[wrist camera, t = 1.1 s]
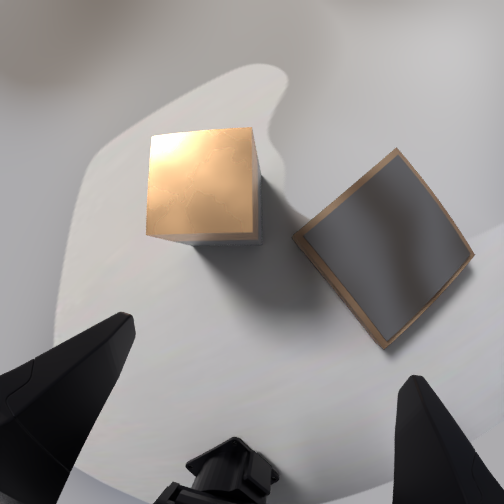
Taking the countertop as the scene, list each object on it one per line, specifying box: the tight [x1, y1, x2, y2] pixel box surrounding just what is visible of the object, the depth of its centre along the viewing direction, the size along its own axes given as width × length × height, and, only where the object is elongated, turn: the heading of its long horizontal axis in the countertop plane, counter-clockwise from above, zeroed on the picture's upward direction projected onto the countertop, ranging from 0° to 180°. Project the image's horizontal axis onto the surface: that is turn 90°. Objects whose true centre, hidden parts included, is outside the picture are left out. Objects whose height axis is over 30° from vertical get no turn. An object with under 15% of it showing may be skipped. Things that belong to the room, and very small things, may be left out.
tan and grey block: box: [146, 127, 262, 246], centre depth 20 cm, size 6×6×9 cm
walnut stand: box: [292, 148, 475, 349], centre depth 22 cm, size 11×11×2 cm
